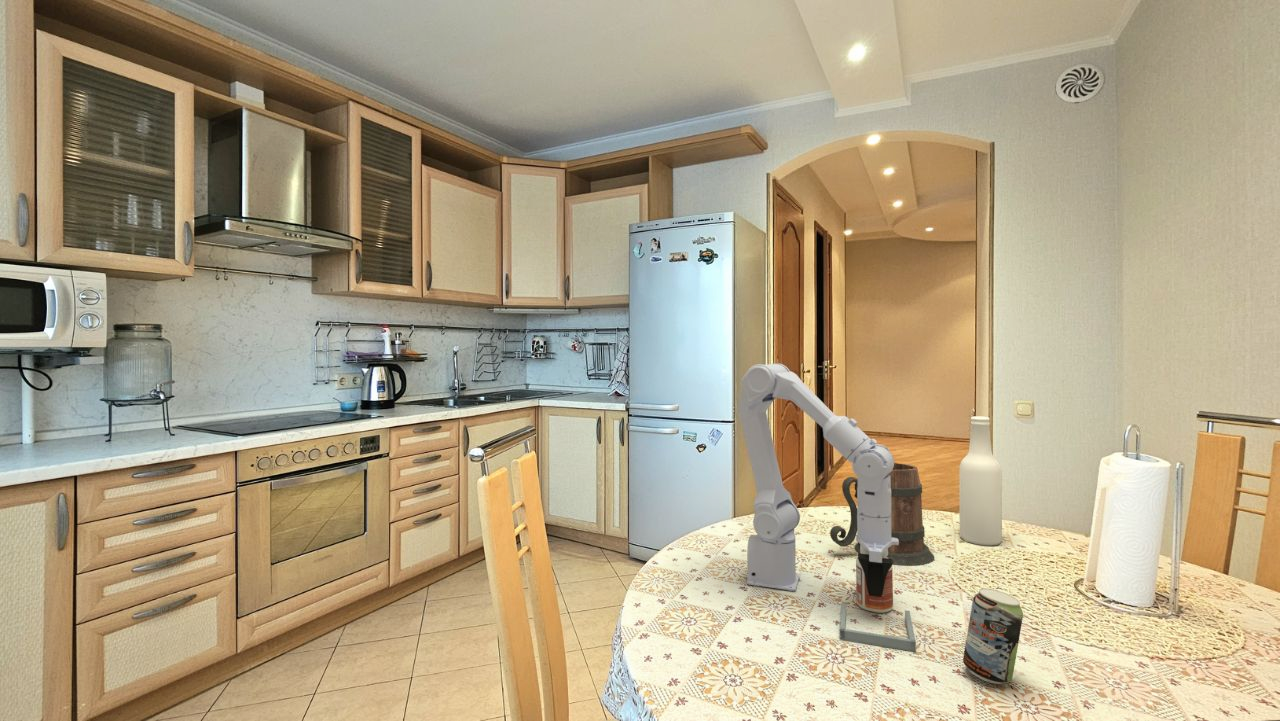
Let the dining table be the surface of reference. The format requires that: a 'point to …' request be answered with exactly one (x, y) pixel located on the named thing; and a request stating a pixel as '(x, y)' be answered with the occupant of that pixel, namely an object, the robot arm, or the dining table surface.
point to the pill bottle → (862, 595)
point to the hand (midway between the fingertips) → (874, 587)
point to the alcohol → (980, 489)
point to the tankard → (895, 518)
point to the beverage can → (993, 636)
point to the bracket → (878, 635)
